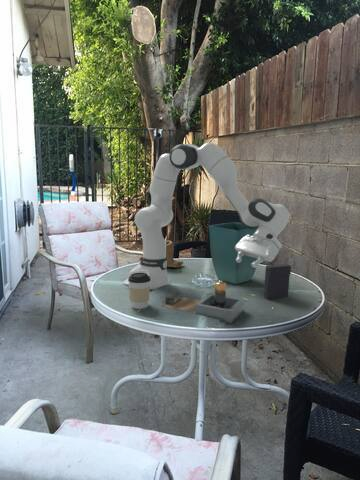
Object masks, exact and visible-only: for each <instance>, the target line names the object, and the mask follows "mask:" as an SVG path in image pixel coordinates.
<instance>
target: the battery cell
mask: <svg viewBox="0 0 360 480" xmlns="http://www.w3.org/2000/svg"><path fill="white" fill-rule="evenodd" d="M214 295H215V298H214V304H213V306H214V307H219V308H225V309H226V306H225V302H226V297H227V282H226V281H223V280H219V279H218V281H214Z"/></svg>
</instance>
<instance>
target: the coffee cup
mask: <svg viewBox="0 0 360 480" xmlns="http://www.w3.org/2000/svg"><path fill="white" fill-rule="evenodd" d="M128 277H129V276H128ZM127 279H128V278H127ZM150 280H151V279H150V276H148V274H146V273H133V274H131V276H130V277H129V279H128V281H129V286H128V293H129V301H130V307H131V308H133V309H135V310H137V309H138V310H139V309H140V310H141V309H142V310H143V309H146V308H147V307H149V300H150V292H151V291H150Z"/></svg>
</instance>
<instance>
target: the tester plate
mask: <svg viewBox="0 0 360 480" xmlns="http://www.w3.org/2000/svg"><path fill="white" fill-rule="evenodd" d="M201 300H202V299H195V298H189V297H185V296H184V297H182V292H179V291H174V292H172V293H170V294H169V295H167V296H165V302H164V304H162V305H161V307H165V308H170V309H175V310H178V311H184V312H188V313H189V312H190V313H193V312H195V304H197V303H198V302H200V301H201Z"/></svg>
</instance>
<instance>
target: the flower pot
mask: <svg viewBox="0 0 360 480" xmlns="http://www.w3.org/2000/svg"><path fill="white" fill-rule="evenodd" d="M257 229H258V228H257ZM257 229H248V228H246V227H244V226H243V224H242V223H241V222H238V221H237V222H235V221H233V222H227V223H218V224H217V223H216V224H211V225H209V226H208V231H209V247H210V255H211V261H212V266H213V270H214V271H215V275H216V276H217V279H218V281H219V280H222V281H224V282H226V283H230V284H234V285H238V284H242V283H245V282H248V281H252V279H253V277H254V275H255V272H256V270H257V267H256V268H254V267H252V266H251V264H252V262H253V261H254V262H255V261H256V260H258V259H257V258H254V257H250V256H247V255H243V256H242V257H241V259H242V261H241V262H240V263H239V262H237V261H236V258H237V256H238V252H237V251H236V250H235V246H236V245H237V243H238V242H239V241H240V240H241V239H242V238H243V237H245V236H248V235H251V236H253V234H254V233H255V232H256V230H257Z"/></svg>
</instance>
